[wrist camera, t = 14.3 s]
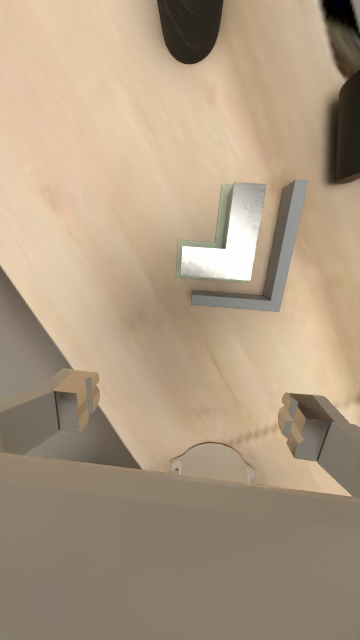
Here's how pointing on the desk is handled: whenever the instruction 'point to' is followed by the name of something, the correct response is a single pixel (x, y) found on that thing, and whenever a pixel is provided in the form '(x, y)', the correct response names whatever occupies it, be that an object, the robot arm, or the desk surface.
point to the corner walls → (277, 263)
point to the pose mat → (202, 244)
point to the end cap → (349, 131)
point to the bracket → (231, 238)
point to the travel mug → (190, 27)
